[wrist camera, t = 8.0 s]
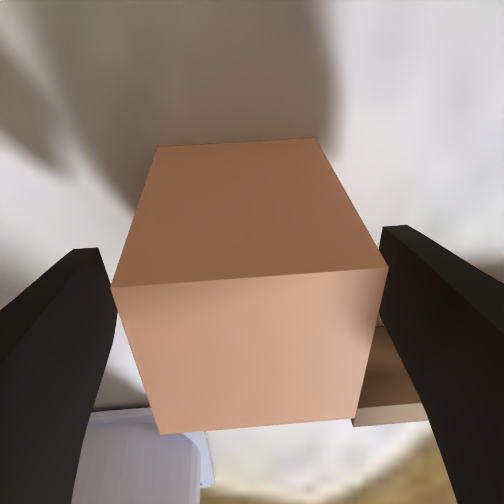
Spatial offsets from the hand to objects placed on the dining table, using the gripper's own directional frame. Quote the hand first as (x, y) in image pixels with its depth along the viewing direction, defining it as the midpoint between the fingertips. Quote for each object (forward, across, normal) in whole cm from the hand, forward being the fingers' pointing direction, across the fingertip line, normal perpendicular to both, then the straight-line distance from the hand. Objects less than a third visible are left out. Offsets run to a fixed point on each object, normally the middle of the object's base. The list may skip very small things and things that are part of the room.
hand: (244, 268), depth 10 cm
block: (+3, 0, 0) cm, 3 cm away
